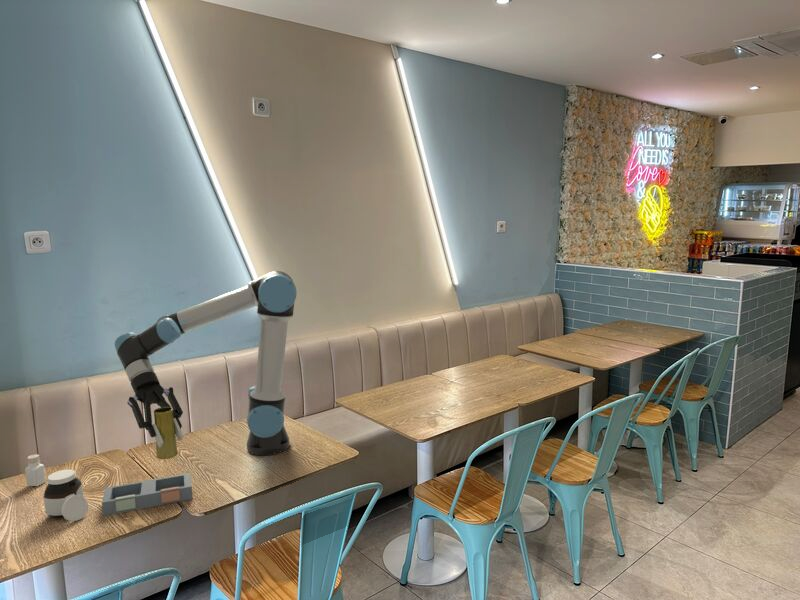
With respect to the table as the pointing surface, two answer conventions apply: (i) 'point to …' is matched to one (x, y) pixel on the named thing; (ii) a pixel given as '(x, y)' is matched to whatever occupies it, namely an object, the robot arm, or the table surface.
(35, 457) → the salt shaker
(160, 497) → the sorting tray
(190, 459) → the table surface
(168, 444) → the vase
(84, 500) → the spread jar
